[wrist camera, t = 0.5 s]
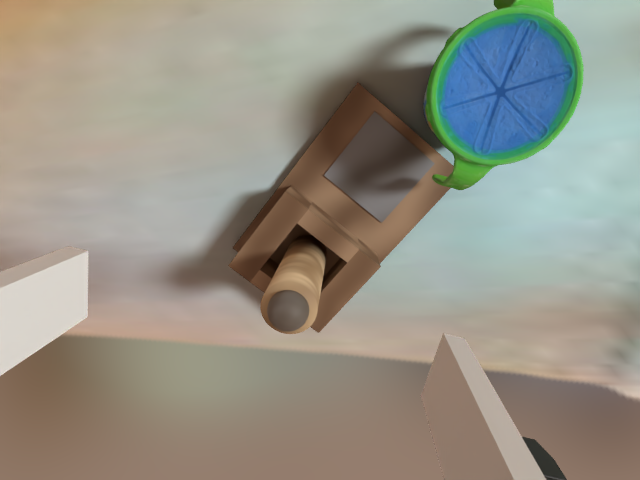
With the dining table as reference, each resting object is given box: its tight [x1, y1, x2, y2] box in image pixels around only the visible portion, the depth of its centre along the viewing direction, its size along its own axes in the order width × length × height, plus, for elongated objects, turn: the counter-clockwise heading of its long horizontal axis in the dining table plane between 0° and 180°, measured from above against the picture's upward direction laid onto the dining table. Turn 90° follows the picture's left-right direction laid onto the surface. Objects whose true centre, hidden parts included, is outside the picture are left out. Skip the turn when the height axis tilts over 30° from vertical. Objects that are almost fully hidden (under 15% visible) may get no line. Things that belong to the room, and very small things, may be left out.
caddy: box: [228, 83, 454, 333], centre depth 36 cm, size 14×22×5 cm, turn 141°
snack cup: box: [423, 0, 583, 190], centre depth 29 cm, size 16×10×10 cm
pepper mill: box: [261, 235, 327, 334], centre depth 32 cm, size 4×4×15 cm
